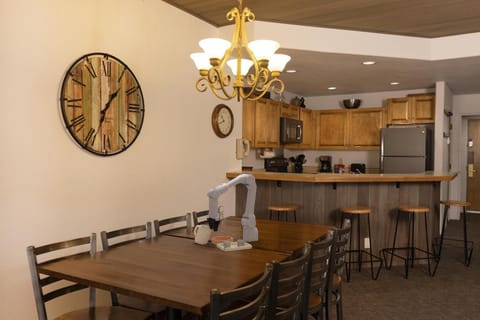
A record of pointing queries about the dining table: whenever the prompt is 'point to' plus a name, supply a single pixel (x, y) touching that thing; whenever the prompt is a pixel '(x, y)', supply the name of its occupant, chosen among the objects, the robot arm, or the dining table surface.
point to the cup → (202, 234)
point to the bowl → (221, 239)
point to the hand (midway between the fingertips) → (213, 230)
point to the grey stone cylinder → (240, 242)
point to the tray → (234, 246)
